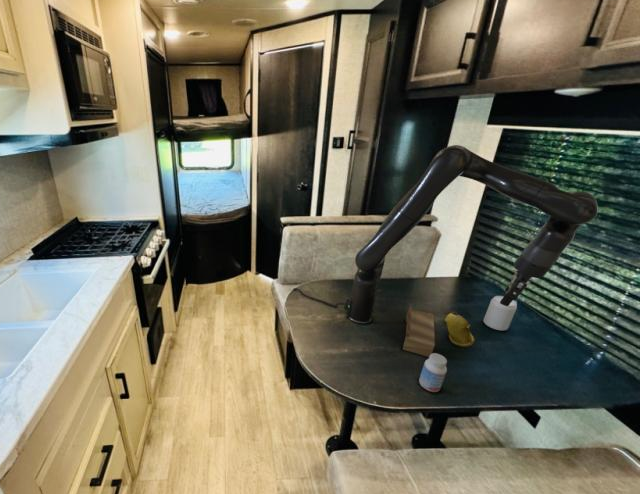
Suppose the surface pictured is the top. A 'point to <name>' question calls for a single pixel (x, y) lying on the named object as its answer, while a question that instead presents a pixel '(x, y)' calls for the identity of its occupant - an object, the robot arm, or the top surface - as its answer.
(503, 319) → the white cylinder
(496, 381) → the top surface
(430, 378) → the pill bottle
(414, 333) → the striped tan crate
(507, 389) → the top surface
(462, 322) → the yellow flared lump
